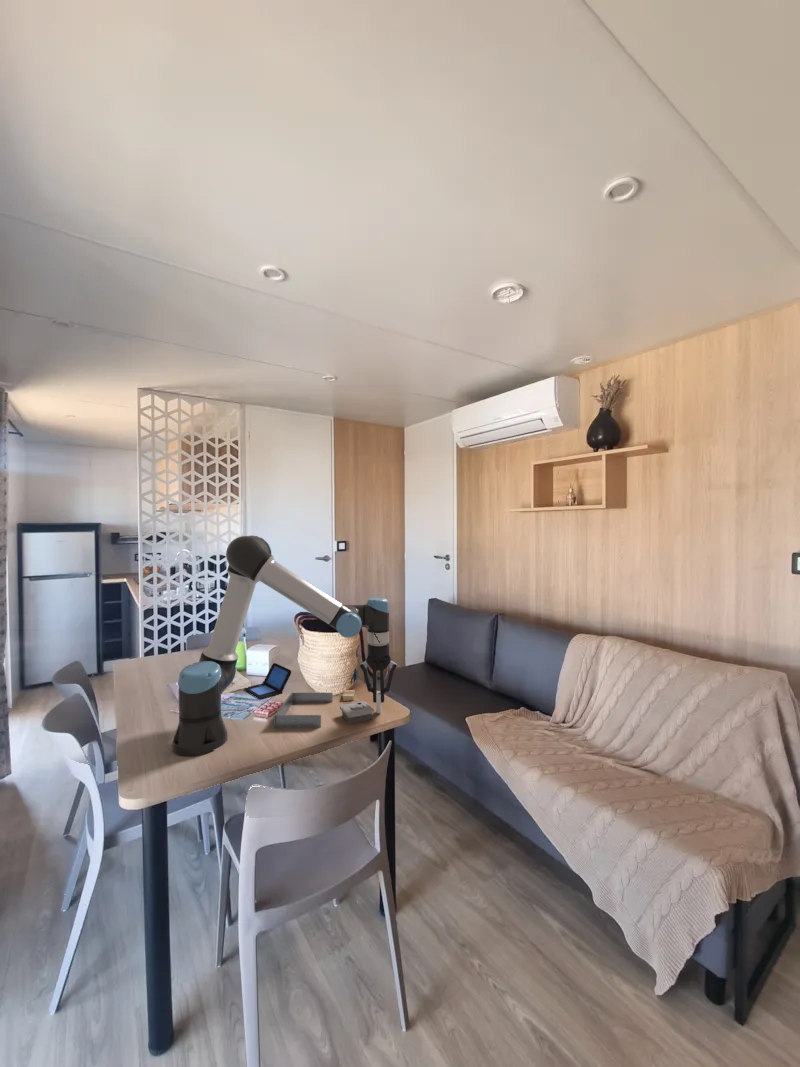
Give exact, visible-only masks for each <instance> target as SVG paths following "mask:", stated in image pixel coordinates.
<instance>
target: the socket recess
mask: <svg viewBox="0 0 800 1067" xmlns="http://www.w3.org/2000/svg"><path fill="white" fill-rule="evenodd" d="M333 693H334V692H291V693H290V694H289V696H288V697H287V698H286V699H285V701H284V702H283V703H282V705H281V706H280V707H279V709H278V710H277V711H276V712H275V713H274V715H273V728H274V729H289V728H292V729H293V728H294V729H295V728H296V729H297V728H299V729H300V728H301V729H302V728H303V729H304V728H305V729H306V728H322V714H287V713H288V712H289V710H290V708H292V706H293V704H294V703H333V700H334V699H333V697H334V696H333Z"/></svg>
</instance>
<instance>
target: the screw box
mask: <svg viewBox="0 0 800 1067" xmlns="http://www.w3.org/2000/svg"><path fill="white" fill-rule="evenodd" d="M355 691H356V690H355V689H349V690H346V689H344V690H343V692H342V701H343V702H350V700H351V702H352V700H353V701H354V700H355V696H354V695H356V692H355Z"/></svg>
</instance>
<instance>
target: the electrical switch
mask: <svg viewBox="0 0 800 1067" xmlns="http://www.w3.org/2000/svg"><path fill="white" fill-rule="evenodd" d="M339 709H340V711H341V713H342V714H341V715H342V717H343V718H344V719H345V720H346V722H348V723H349V725H353V724H356V723H357V724H358V723H362V722H365V721H369V720H372V716H373V714H374V713H375V709H374V708H373V707H372V706H371V705H370V704H368V703H367V702H366V701H363V700H362V701H357V702H351V703H347V704H340V705H339Z"/></svg>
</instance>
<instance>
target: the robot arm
mask: <svg viewBox="0 0 800 1067" xmlns="http://www.w3.org/2000/svg"><path fill="white" fill-rule="evenodd" d="M225 557H226V562H227V563H228V567H227V570H226V572H227V573H228V575H229V579H228V583H227V587H226V590H225V592H224V596H223V599H222V602H221V605H220V609H219V612H218V615H217V618H216V622H215V625H214V628H213V631H212V633H211V634H212V635H211V638H210V641H209V644H208V646H206V647H205V648H203V649H202V650H201V654H200V658H199V660H198V662H193V663H192V664H188V665H187V666H184V668H182V669H181V670H180V672H179V675H178V682H177V687H178V724H177V728H176V730H175V734H174V736H173V740H172V751H173V753H175V754H176V755H179V756H184V757H187V756H188V757H190V756H191V757H192V756H193V757H194V756H202V755H205V754H210V753H212V752H215V751H216V749H218V748H220V747H222V746H223V745H224V744H226V742H227V741H228V730H227V728H226V725H225V722H224V719H223V717H222V695H223V693H224V692H225V690H226V689H228V687H229V686H231V684H232V683H233V681H234V679H235V677H236V673H237V666H236V665H237V662H238V659H239V655H238V653H237V651H236V650H237V647H238V644H239V640H240V637H241V633H242V631H243V628H244V624H245V620H246V618H247V615H248V614H247V613H248V610H249V608H250V604H251V601H252V599H253V594H254V591H255V589H256V585H257V584H258V583H259V582H261V583H262V584H264V585H266V586H267V587H268V588H270V589H272V590H273V591H275V592H277V593H278V594H280V595H281V596H283V597H285V598H286V599H288V600H290V601H291V602H292V603H293V604H296V605H297V606H299V607H300V608H302V609H304V610H305V611H307V612H308V613H310V614H311V615H313V616H314V617H316V618H318V619H320V620H321V621H322V622H324V623H326V624H327V625H329V626H330V627H332V628H333V629H334V630H336V631H337V632H338V633H339V635H340V636H342V637H344V638H347V639H350V638H354V637H356V636H357V635H358V634H359V633H360V632H361V628H362V627H367V632H366V633H367V635H366V636H367V643H368V644H367V657H366V659H365V661H363V662H360V664H359V668H360V669H361V671H362V673H363V677H364V681H365V685H366V689H367V692H369V693H372V702H373V703H374V704H375V706H376V712H375V713H376V714H381V713H382V703H385V693H389V692H390V688H391V685H392V679H393V677H394V676H393V675H394V672H395V670H396V668H397V666H398V662H396V661H395V662H394V661H393V660H392V659H391V657H390V644H389V643H390V606H389V603H390V602H389V600H388V599H387V598H385V597H370V598H368V599H367V601H366V604H342V603H341V602H340V601H338V600H336V599H335V598H333V597H331V596H330V595H329V594H327V593H325V592H324V591H322V590H321V589H319V588H318V587H316V586H314V585H313V584H311V583H310V582H308V581H307V580H305V579H304V578H302V577H301V576H299V575H297V574H296V573H294V572H293V571H291V570H289V569H288V568H287V567H285V566H283V564H280V563H279V562H277V561H275V557H274V555H272V549H271V545H270V544H269V542H267V540H265V539H264V538H262V537H259V536H257V535H241V536H238V537H236V538H234V539H233V540H232V541H231V542H230V543H229V544H228V546H227V548H226V551H225ZM370 629H371V630H372V631H373V632H374V633H375V634H376V636H377V637H378V640H379V641H380V643H379V642H378V640H377V638H376V637H375V635H374V633H373V632H372V631H371V630H370ZM368 666H369V668H370V669H371V670H372V682H371V679H370V675H369V671H368ZM387 667H389V669H390V670H389V674H388V678H387V682H386V686H385V670H386V669H387ZM378 671H379V675H380V676H379V677H380V681H379V682H380V686H379V687H380V688H379V689H380V690H379V691H377V690H378Z"/></svg>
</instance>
